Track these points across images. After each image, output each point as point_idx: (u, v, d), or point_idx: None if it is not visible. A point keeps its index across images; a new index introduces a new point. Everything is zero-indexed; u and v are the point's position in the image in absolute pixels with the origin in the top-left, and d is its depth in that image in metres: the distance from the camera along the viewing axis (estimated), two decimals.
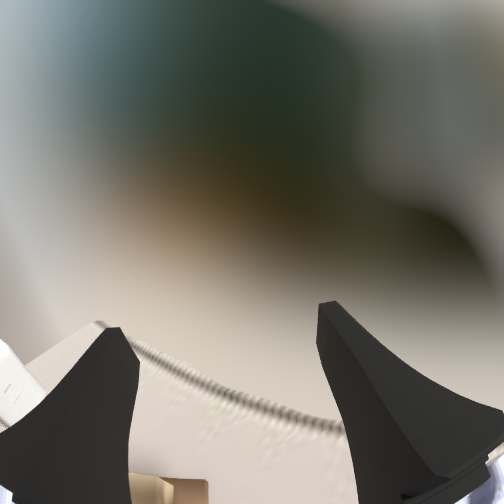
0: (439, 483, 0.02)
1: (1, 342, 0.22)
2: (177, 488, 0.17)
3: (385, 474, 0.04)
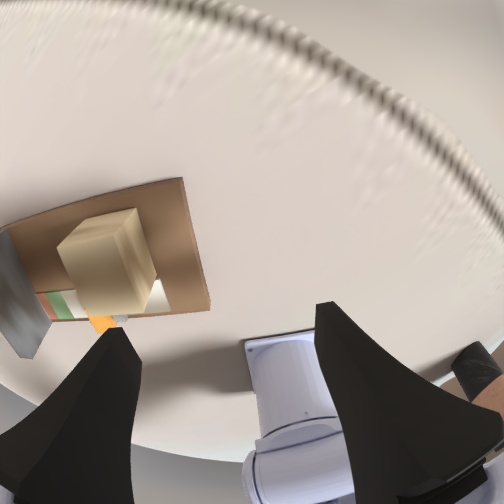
0: (434, 486, 0.02)
1: None
2: (142, 208, 0.16)
3: (381, 476, 0.04)
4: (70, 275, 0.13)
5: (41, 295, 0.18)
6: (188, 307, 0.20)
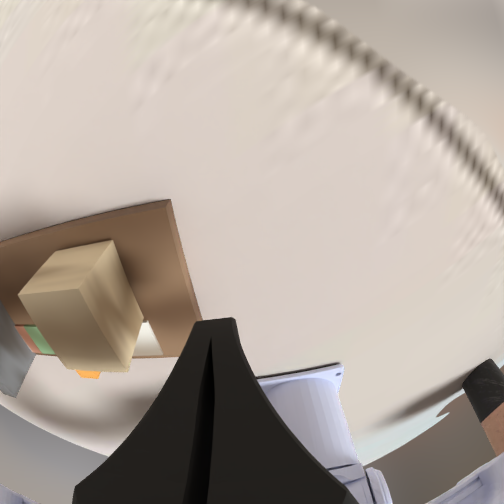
0: None
1: None
2: (120, 240, 0.12)
3: None
4: (38, 326, 0.09)
5: (20, 328, 0.15)
6: None
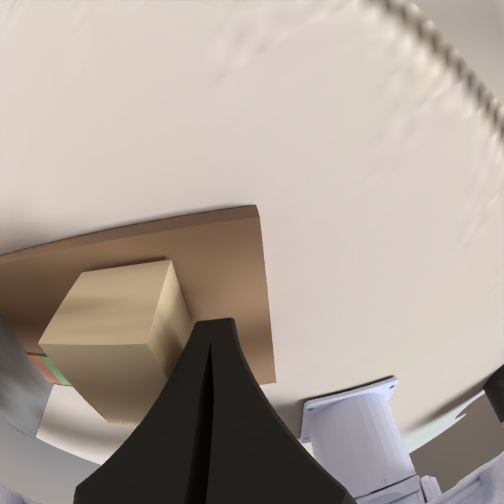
0: None
1: None
2: (188, 258, 0.10)
3: None
4: (70, 380, 0.07)
5: (34, 357, 0.12)
6: None
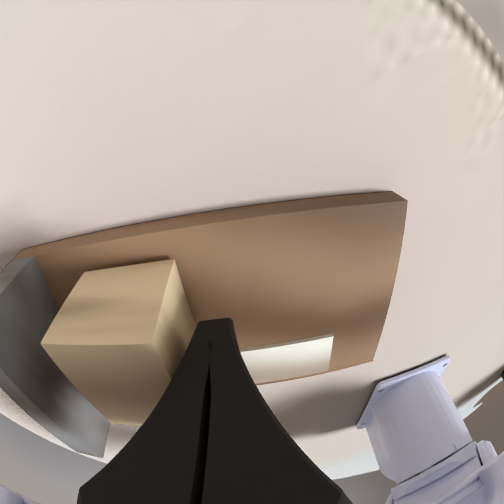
0: None
1: None
2: (346, 236, 0.10)
3: None
4: (72, 381, 0.07)
5: None
6: (350, 362, 0.14)
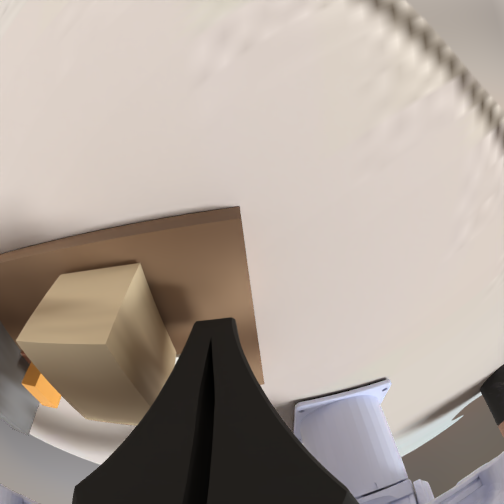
0: None
1: None
2: (171, 260, 0.10)
3: None
4: (46, 376, 0.07)
5: None
6: None
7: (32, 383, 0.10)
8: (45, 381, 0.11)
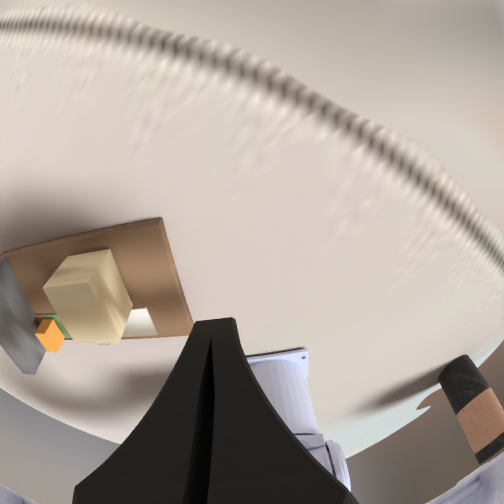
0: None
1: None
2: (126, 247, 0.17)
3: None
4: (56, 310, 0.14)
5: (40, 316, 0.19)
6: (173, 332, 0.21)
7: (43, 332, 0.18)
8: (51, 331, 0.19)
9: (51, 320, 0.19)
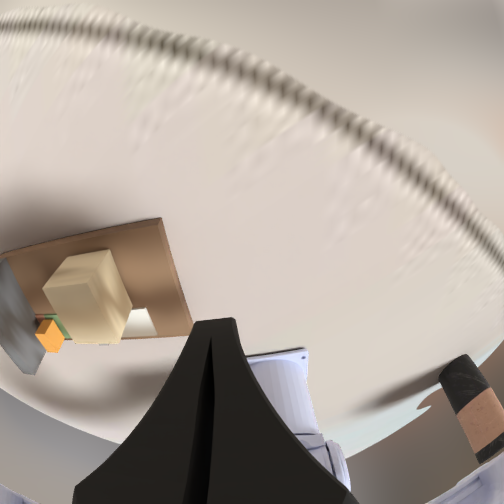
0: None
1: None
2: (125, 247, 0.17)
3: None
4: (56, 310, 0.14)
5: (40, 317, 0.19)
6: (173, 332, 0.21)
7: (43, 332, 0.18)
8: (51, 332, 0.19)
9: (51, 320, 0.19)
